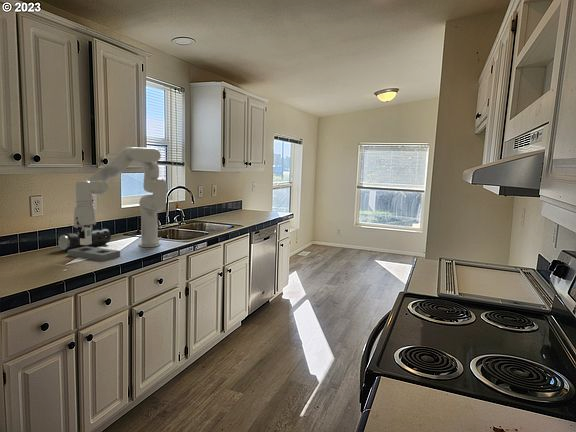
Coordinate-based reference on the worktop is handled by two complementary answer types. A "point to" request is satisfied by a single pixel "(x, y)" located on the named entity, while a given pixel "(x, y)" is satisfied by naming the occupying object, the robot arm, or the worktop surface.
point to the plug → (86, 237)
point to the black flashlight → (73, 239)
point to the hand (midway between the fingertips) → (85, 237)
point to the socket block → (93, 253)
